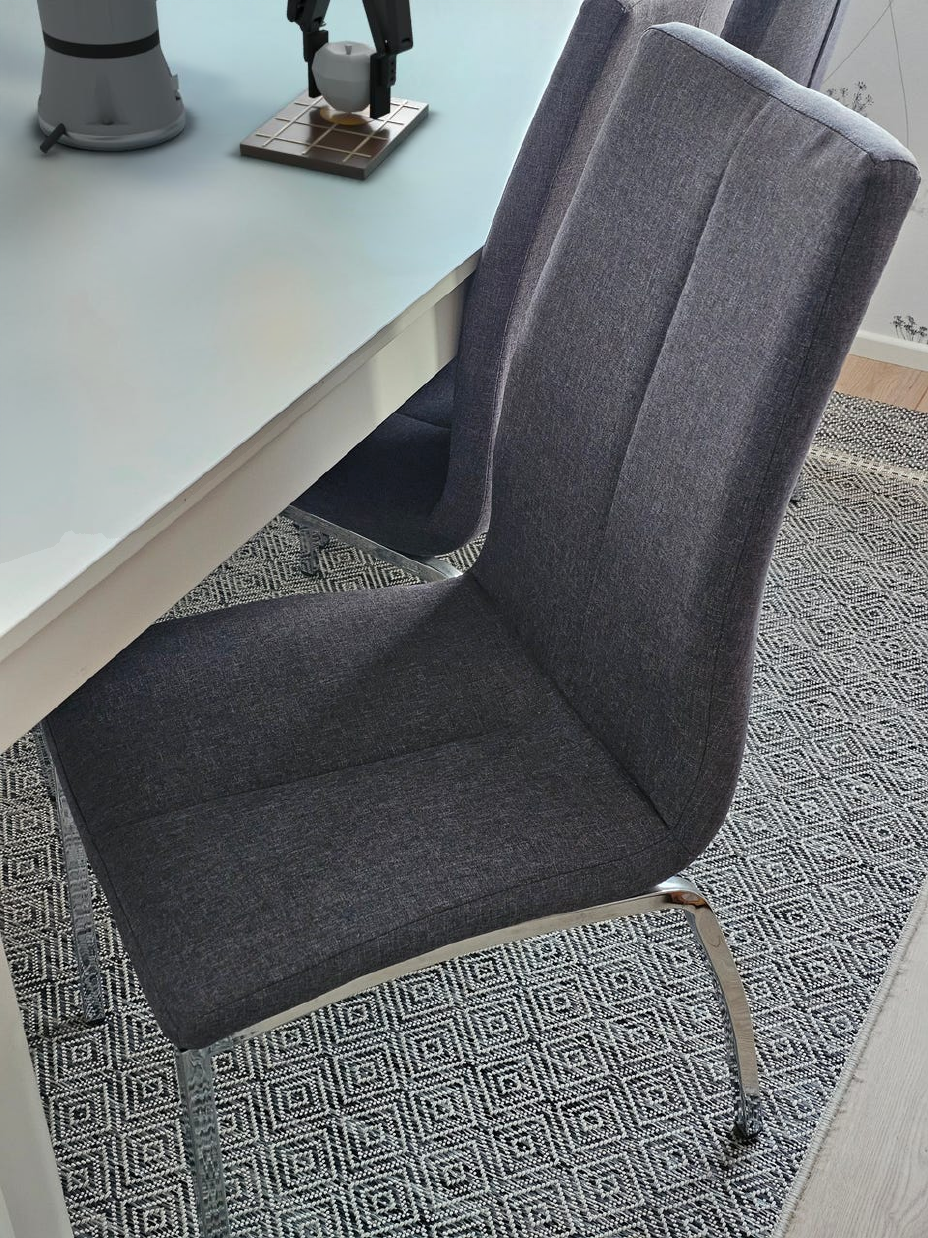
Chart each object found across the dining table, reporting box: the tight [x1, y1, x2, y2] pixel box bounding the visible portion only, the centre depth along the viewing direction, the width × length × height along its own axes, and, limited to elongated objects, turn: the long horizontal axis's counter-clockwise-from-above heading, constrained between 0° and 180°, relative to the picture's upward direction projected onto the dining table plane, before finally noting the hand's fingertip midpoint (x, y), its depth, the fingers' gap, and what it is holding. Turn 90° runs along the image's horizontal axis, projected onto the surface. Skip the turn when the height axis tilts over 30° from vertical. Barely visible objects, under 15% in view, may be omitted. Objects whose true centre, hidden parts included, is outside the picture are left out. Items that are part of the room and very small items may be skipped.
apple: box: [312, 40, 377, 113], centre depth 130 cm, size 8×8×7 cm
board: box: [239, 88, 430, 181], centre depth 131 cm, size 20×14×1 cm
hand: (349, 104), depth 132 cm, fingers closed on apple, 8 cm apart
